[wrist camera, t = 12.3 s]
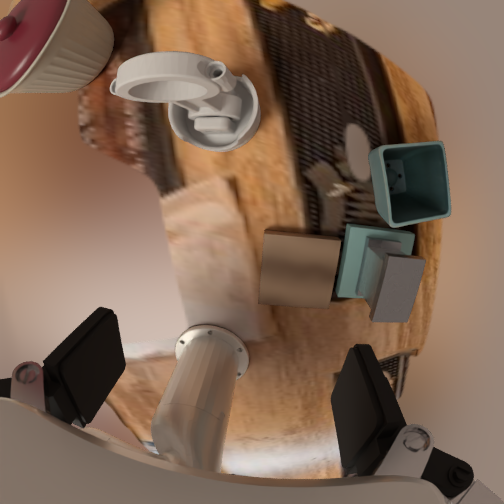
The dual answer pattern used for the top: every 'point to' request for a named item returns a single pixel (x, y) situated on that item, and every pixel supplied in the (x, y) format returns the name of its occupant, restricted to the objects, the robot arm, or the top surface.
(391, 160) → the flower pot
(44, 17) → the canister
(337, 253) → the stand
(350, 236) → the stand
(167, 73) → the engine component
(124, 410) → the top surface
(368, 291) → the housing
